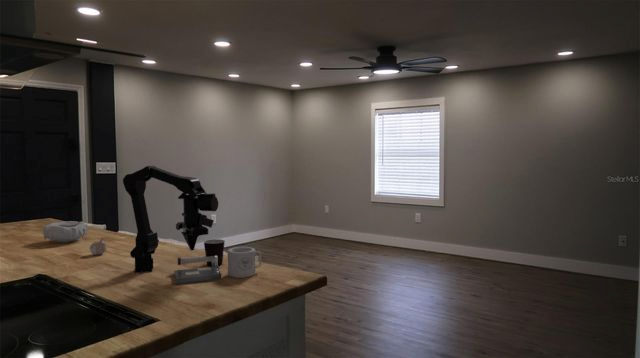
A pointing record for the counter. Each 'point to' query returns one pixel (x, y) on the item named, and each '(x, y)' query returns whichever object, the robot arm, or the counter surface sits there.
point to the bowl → (65, 231)
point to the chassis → (197, 275)
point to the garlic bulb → (98, 247)
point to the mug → (242, 262)
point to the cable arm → (199, 260)
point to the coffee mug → (214, 249)
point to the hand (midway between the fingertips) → (192, 250)
